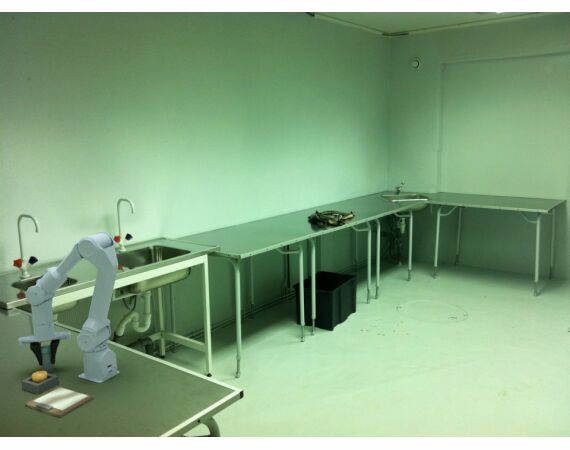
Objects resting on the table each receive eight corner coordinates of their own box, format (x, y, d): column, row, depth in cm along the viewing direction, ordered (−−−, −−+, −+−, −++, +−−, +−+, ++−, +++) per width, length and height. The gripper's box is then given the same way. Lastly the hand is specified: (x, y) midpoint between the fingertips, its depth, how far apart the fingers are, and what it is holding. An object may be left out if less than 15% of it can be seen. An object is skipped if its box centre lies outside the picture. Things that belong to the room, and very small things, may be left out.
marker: (56, 369, 163) (53, 345, 162) (47, 374, 161) (44, 349, 159) (49, 368, 165) (46, 344, 163) (40, 372, 162) (37, 347, 161)
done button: (50, 379, 153) (49, 372, 153) (38, 385, 150) (37, 377, 149) (41, 376, 155) (40, 369, 154) (29, 382, 151) (28, 375, 151)
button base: (59, 383, 154) (58, 375, 153) (38, 394, 148) (37, 386, 147) (43, 379, 157) (42, 371, 157) (22, 389, 151) (21, 381, 151)
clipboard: (93, 398, 144) (93, 394, 144) (60, 417, 135) (59, 413, 135) (59, 388, 151) (58, 384, 151) (24, 405, 141) (24, 401, 141)
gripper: (69, 315, 166) (73, 355, 168) (19, 320, 162) (24, 361, 164) (67, 322, 159) (71, 364, 161) (15, 328, 155) (20, 371, 157)
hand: (47, 363), depth 162 cm, fingers closed on marker, 3 cm apart
